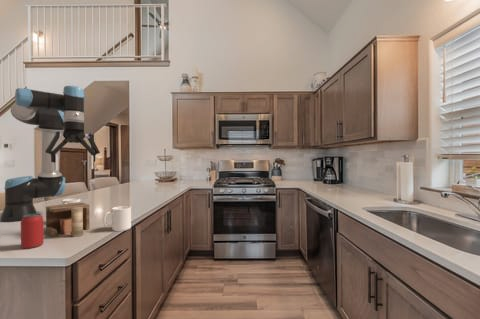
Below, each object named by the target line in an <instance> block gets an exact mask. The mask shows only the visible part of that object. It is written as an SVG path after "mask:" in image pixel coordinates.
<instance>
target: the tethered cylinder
mask: <svg viewBox="0 0 480 319" xmlns="http://www.w3.org/2000/svg"><path fill="white" fill-rule="evenodd" d="M59 232H60V233H61V234H63V235H68V234H71V238H78V237H82V236H83V235H84V228H83V207H76V208H72V209H71V217H69V218H63V219H60V230H59Z"/></svg>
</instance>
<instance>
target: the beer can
mask: <svg viewBox="0 0 480 319" xmlns="http://www.w3.org/2000/svg"><path fill="white" fill-rule="evenodd" d="M43 244H44V217H43V215H42V213H37V214H28V215H24V216H23V218H22V220H21V221H20V247H21V248H22V249H34V248H37V247H40V246H42V245H43Z"/></svg>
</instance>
